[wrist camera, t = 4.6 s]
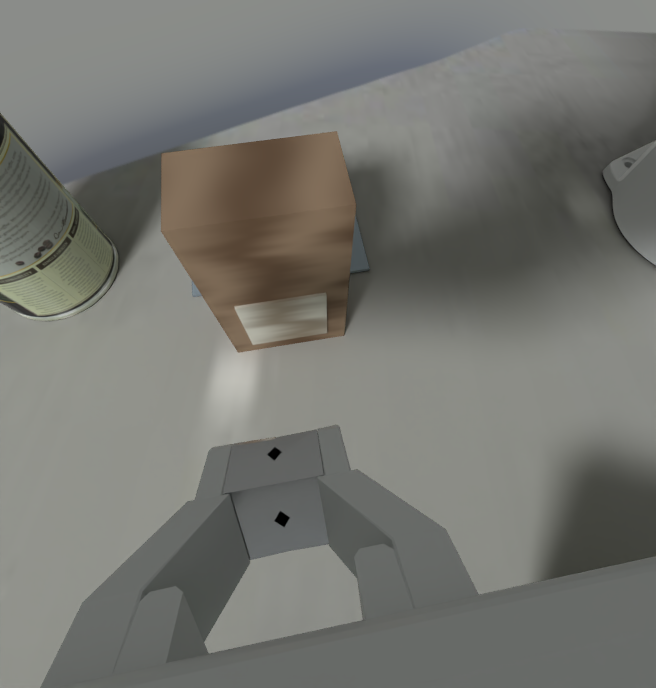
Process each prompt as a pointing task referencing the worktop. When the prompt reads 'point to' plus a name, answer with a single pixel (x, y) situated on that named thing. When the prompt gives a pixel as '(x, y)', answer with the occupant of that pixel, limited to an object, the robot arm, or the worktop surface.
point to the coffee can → (46, 239)
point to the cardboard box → (264, 235)
